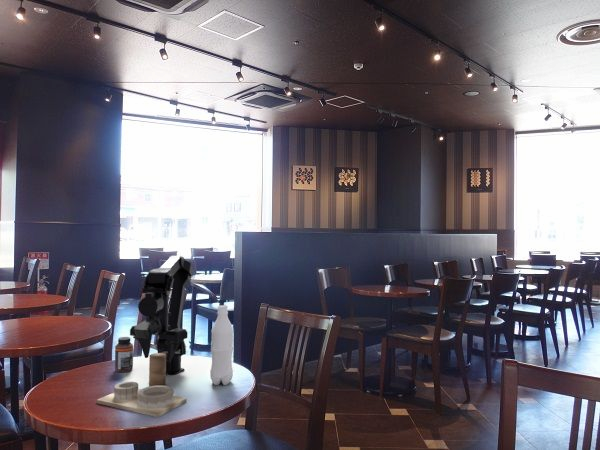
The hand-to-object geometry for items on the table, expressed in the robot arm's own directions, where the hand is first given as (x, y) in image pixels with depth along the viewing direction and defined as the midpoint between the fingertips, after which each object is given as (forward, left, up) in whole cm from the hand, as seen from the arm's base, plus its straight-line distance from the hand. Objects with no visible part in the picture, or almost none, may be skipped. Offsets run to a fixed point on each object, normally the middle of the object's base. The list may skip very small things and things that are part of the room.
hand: (157, 359), depth 142 cm
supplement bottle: (-8, -22, -9) cm, 25 cm away
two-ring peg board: (+12, +5, -9) cm, 16 cm away
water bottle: (-12, +16, -9) cm, 22 cm away
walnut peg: (0, 0, -9) cm, 9 cm away
